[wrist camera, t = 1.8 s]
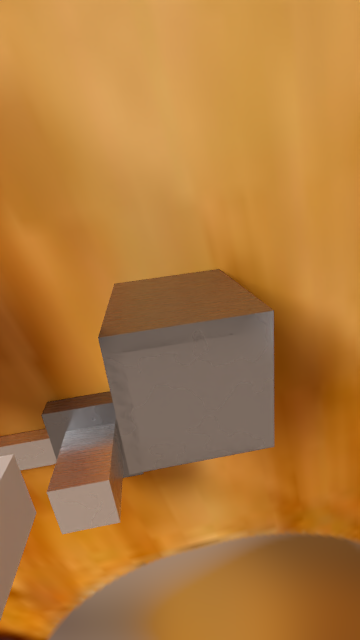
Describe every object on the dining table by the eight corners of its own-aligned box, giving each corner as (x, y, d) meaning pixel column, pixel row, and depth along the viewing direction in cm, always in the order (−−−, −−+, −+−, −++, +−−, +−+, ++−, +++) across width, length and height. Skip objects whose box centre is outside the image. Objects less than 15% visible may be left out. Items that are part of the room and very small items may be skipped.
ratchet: (-126, 431, 22) (-229, 518, 16) (128, 388, 23) (125, 452, 17) (-85, 502, 24) (-159, 601, 18) (143, 459, 26) (144, 537, 20)
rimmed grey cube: (114, 283, 20) (98, 337, 12) (218, 269, 21) (273, 310, 12) (132, 376, 23) (129, 474, 14) (225, 361, 23) (274, 446, 15)
